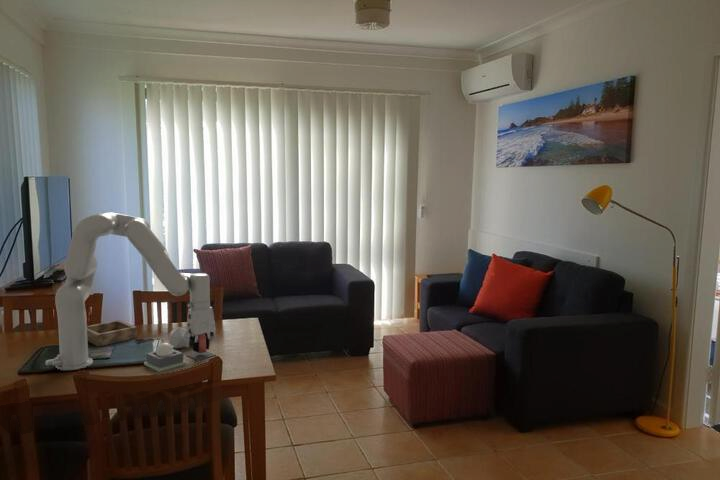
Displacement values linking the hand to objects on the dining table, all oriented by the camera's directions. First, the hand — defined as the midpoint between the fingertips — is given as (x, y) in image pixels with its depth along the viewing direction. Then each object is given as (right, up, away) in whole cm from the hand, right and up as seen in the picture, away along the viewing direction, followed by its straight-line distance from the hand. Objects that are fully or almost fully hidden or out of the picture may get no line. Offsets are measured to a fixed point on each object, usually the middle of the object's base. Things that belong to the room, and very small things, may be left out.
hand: (201, 349), depth 219 cm
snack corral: (-47, 0, +23) cm, 52 cm away
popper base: (-11, -4, -10) cm, 15 cm away
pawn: (0, -1, 0) cm, 1 cm away
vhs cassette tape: (-6, -1, +21) cm, 22 cm away
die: (-12, -1, +6) cm, 14 cm away
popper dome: (-11, -1, -11) cm, 15 cm away
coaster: (0, -3, 0) cm, 3 cm away
